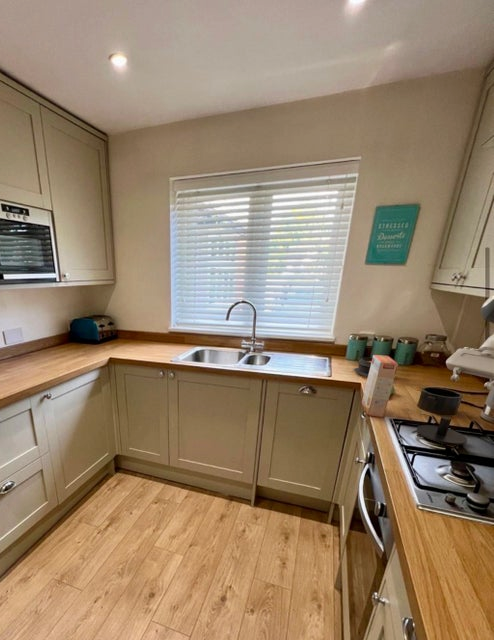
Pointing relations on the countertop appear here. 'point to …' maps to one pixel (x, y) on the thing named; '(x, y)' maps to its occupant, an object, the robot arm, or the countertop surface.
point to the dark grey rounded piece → (364, 366)
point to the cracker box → (379, 385)
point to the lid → (442, 433)
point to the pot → (439, 401)
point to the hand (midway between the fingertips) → (469, 384)
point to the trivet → (437, 441)
